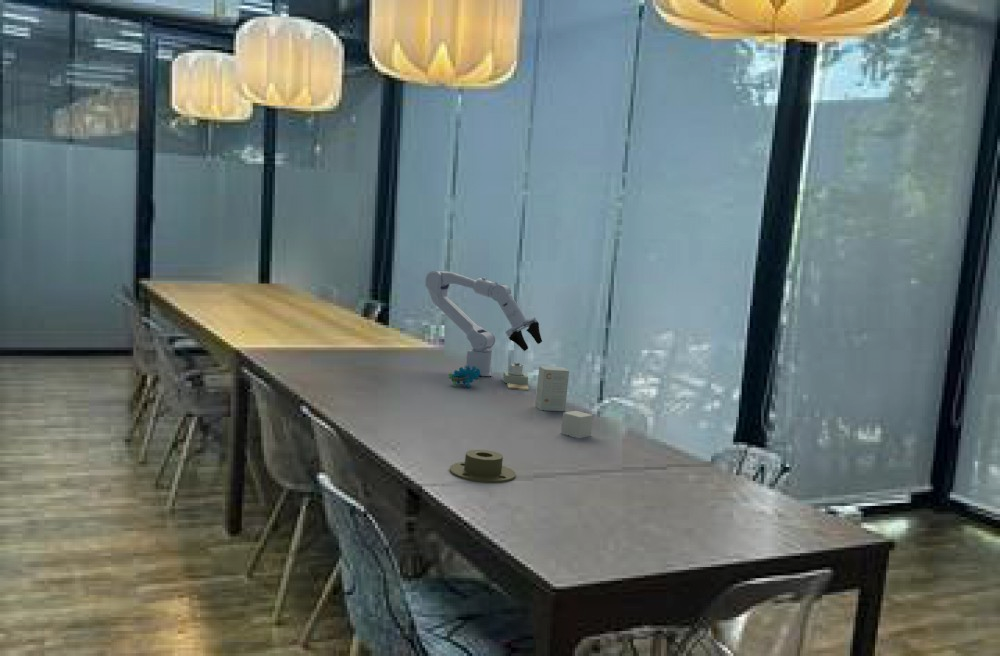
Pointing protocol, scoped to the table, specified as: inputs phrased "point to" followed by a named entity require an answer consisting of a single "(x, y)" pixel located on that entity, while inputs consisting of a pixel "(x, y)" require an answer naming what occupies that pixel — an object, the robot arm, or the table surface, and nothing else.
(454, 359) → the table surface
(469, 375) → the toy stegosaurus
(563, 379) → the small box
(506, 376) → the housing
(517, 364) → the grey cylinder
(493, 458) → the flange
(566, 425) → the light grey cube
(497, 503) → the table surface
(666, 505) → the table surface
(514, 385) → the coaster
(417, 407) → the table surface
